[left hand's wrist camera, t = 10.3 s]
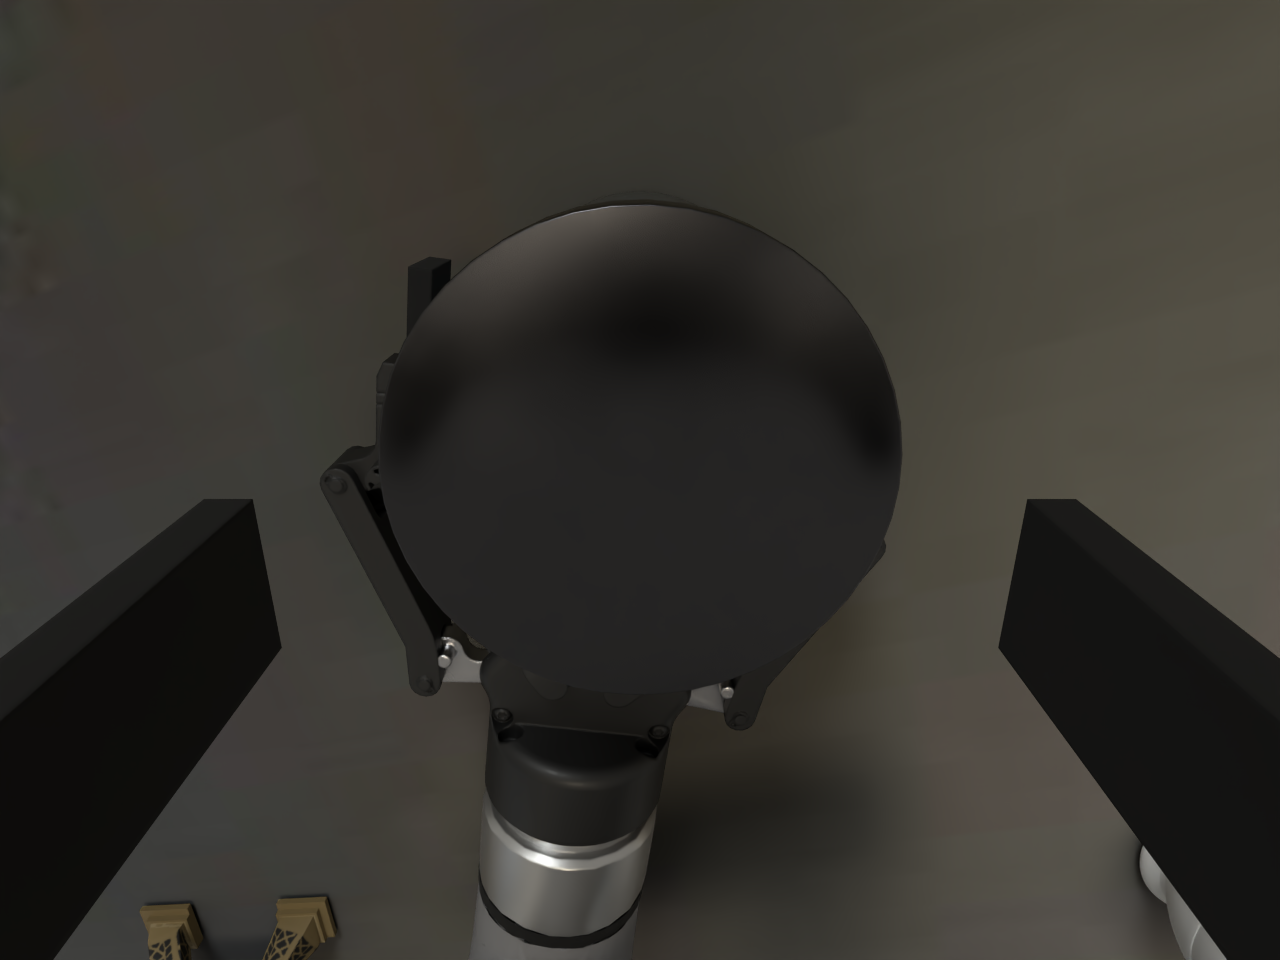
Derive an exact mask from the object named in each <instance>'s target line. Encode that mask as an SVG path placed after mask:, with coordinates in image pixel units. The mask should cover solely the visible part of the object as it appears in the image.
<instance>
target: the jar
mask: <svg viewBox="0 0 1280 960" xmlns="http://www.w3.org/2000/svg"><path fill="white" fill-rule="evenodd" d="M1140 871H1141V875H1142V878H1143V880H1144V882H1145V884H1146V886H1147V887H1148V888H1149V890H1150V891H1151V892H1152V893H1153V894H1154V895H1155V896H1156V897H1157V898H1159V899H1160V900H1161V901H1163V902H1164V903H1166V904H1167V909H1168V914H1169V919H1170V923H1171V926H1172V929H1173V932H1174V935H1175V938H1176V940H1177V943H1178V945H1179V947H1180V950H1181V952H1182V954H1183V956H1184V958H1185V960H1227V959H1226V958H1225V956H1224V955H1223V954H1222V952H1221V951H1220V950H1219V948H1218V947H1217V946H1216V944H1215V943H1214V941H1213V940H1212V939H1211V937H1210V936H1209V935H1208V933H1207V932H1206V931H1205V929H1204V928H1203V926H1202V925H1201V924H1200V922H1199V921H1198V920H1197V918H1196V917H1195V915H1194V914H1193V913H1192V911H1191V910H1190V909H1189V907H1188V906H1187V905H1186V903H1185V902H1184V900H1183V899H1182V898H1181V896H1180V895H1179V894H1178V892H1177V891H1176V890H1175V888H1174V887H1173V885H1172V884H1171V883H1170V881H1169V880H1168V879H1167V877H1166V876H1165V875H1164V873H1163V872H1162V870H1161V869H1160V868H1159V866H1158V865H1157V864H1156V862H1155V861H1154V860H1153V858H1152V857H1151V855H1150V854H1149V853H1148V851H1147V850H1146V849H1145V847H1144V846H1143V847H1142V850H1141V854H1140Z"/></svg>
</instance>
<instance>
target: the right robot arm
mask: <svg viewBox="0 0 1280 960" xmlns="http://www.w3.org/2000/svg"><path fill="white" fill-rule="evenodd" d="M450 275H451V260H449V259H442V258H434V257H428V258H426V259H424V260H421V261H419V262H417V263H415V264H413V265H411V266H409V267H408V304H407V336H408V335H409V333H410V331H411V330H412V328H413V326H414V325H415V323H416V321H417V320H418V318H419V317H420V315H421V313H422V312H423V311H424V309H425V308H426V307H427V306H428V305H429V303H430V302H431V301H432V300H433V299H434V297H435V296H436V295H437V294H438V293H439V291H440V290H441V289H442V288H443V287H444V285H445V284H447V283H448V282H449V281H450ZM398 355H399V354H397V353H394V354H393V355H392V356H390V357H389V358H388V359H387V360H385V361H384V362H383V363H382V365H381V368H380V370H379V372H378V374H377V394H376V403H377V405H376V444H375V445H373V446H369V447H361V446H353V447H351V448H349V449H347V450H346V451H345V452H344V453H343V454H342V455H341V456H340V457H339V458H338V459H337V460H336V461H335V462H334V463H333V464H332V465H331V466H330V467H329V468H328V469H327V470H326V471H325V472H324V473H323V475H322V476H321V478H320V486H321V489H322V491H323V493H324V495H325V497H326V499H327V501H328V503H329V505H330V506H331V508H332V510H333V512H334V514H335V516H336V518H337V520H338V521H339V523H340V525H341V527H342V529H343V531H344V533H345V534H346V536H347V538H348V540H349V542H350V544H351V546H352V548H353V549H354V551H355V553H356V555H357V557H358V559H359V561H360V563H361V564H362V566H363V568H364V570H365V572H366V574H367V576H368V578H369V579H370V581H371V583H372V585H373V587H374V589H375V591H376V593H377V594H378V596H379V598H380V600H381V602H382V604H383V606H384V607H385V609H386V611H387V613H388V615H389V617H390V619H391V621H392V622H393V624H394V626H395V628H396V630H397V632H398V634H399V636H400V637H401V639H402V641H403V643H404V645H405V647H406V656H407V665H408V674H409V683H410V686H411V689H412V690H413V691H414V692H415V693H417V694H419V695H421V696H432V695H434V694H436V693H437V692H438V690H439V689H440V687H441V684H442V682H481V684H482V686H483V687H484V689H485V691H486V693H487V695H488V697H489V701H490V717H489V730H488V744H487V757H486V770H485V783H486V788H485V792H484V796H483V809H482V826H481V842H480V861H479V884H478V893H477V902H476V911H475V920H474V929H473V937H472V944H471V950H470V956H469V960H632V952H633V943H634V936H635V929H636V921H637V914H638V907H639V900H640V896H641V893H642V887H643V882H644V879H645V876H646V871H647V865H648V860H649V854H650V848H651V843H652V837H653V832H654V826H655V820H656V811H657V803H658V800H659V796H660V791H661V786H662V780H663V775H664V769H665V763H666V758H667V752H668V747H669V741H670V736H671V730H672V726H673V723H674V721H675V719H676V717H677V716H678V714H679V713H680V712H681V711H682V710H683V709H684V708H685V707H686V705H689V706H693V707H698V708H703V709H708V710H713V711H718V712H722V713H724V717H725V721H726V724H727V725H728V726H729V727H730V728H732V729H734V730H745V729H748V728H749V727H750V726H752V724H753V723H754V721H755V719H756V716H757V713H758V711H759V708H760V705H761V703H762V700H763V697H764V694H765V692H766V689H767V687H768V686H769V685H770V683H771V682H772V681H773V680H774V679H775V678H776V677H777V675H778V674H779V673H780V672H781V671H782V670H783V669H784V668H785V666H786V665H787V664H788V663H789V662H790V661H791V660H792V658H793V657H794V656H795V655H796V654H797V653H798V652H799V651H800V649H801V648H802V647H803V646H804V645H805V644H806V643H807V641H808V640H809V639H810V638H811V637H812V636H813V635H814V633H815V632H816V631H817V630H816V631H815V632H814V633H813V634H812V635H811V636H809V637H808V638H807V639H806V640H805V641H803V642H802V643H800V644H799V645H797V646H796V647H794V648H793V649H791V650H790V651H788V652H787V653H785V654H784V655H782V656H781V657H779V658H778V659H776V660H774V661H772V662H770V663H768V664H766V665H764V666H762V667H760V668H758V669H756V670H754V671H752V672H749V673H747V674H744V675H741V676H739V677H736V678H733V679H731V680H728V681H725V682H722V683H719V684H715V685H711V686H707V687H703V688H699V689H695V690H689V691H681V692H674V693H667V694H645V695H628V694H616V693H604V692H598V691H592V690H587V689H582V688H577V687H572V686H569V685H565V684H562V683H559V682H556V681H552V680H549V679H546V678H543V677H541V676H538V675H536V674H534V673H531V672H529V671H527V670H525V669H522V668H520V667H518V666H515V665H514V664H512V663H510V662H508V661H507V660H505V659H503V658H502V657H500V656H498V655H496V654H495V653H493V652H491V651H490V650H488V649H487V648H486V649H482V648H478V647H475V646H474V645H472V644H471V642H470V641H469V639H468V637H467V634H466V633H465V632H464V631H463V630H462V629H461V628H460V627H459V626H458V625H457V624H456V623H451V619H450V618H449V617H448V616H447V615H446V614H445V613H444V612H443V611H442V610H441V609H440V607H439V606H438V605H437V604H436V603H435V601H434V600H433V599H432V598H431V596H430V595H429V594H428V593H427V592H426V590H425V589H424V588H423V587H422V585H421V583H420V582H419V580H418V579H417V577H416V576H415V574H414V572H413V571H412V569H411V568H410V566H409V564H408V563H407V561H406V559H405V557H404V555H403V553H402V551H401V548H400V546H399V544H398V542H397V540H396V538H395V535H394V533H393V530H392V527H391V524H390V521H389V517H388V514H387V511H386V508H385V504H384V500H383V494H382V488H381V482H380V476H379V465H378V433H379V425H380V416H381V408H382V403H383V399H384V395H385V392H386V388H387V384H388V380H389V377H390V373H391V371H392V369H393V366H394V364H395V362H396V359H397V357H398ZM885 549H886V544H885V541H884V540H883V542H882V545H881V547H880V549H879V551H878V553H877V555H876V557H875V558H874V560H873V562H872V564H871V566H870V568H869V569H868V571H867V573H868V572H869V571H870V570H871V569H872V568H873V567H874V565H875V564H876V563H877V562H878V561H879V560H880V559H881V557H882V556H883V554H884V553H885ZM867 573H866V574H867ZM865 576H866V575H865ZM865 576H864V577H865Z"/></svg>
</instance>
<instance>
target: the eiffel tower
mask: <svg viewBox="0 0 1280 960" xmlns="http://www.w3.org/2000/svg"><path fill="white" fill-rule="evenodd" d="M276 905H277V908H278V911H277V913H276V918H277V921H278V924H277V926H276V928H275V931H274V933H273V936H272V938H271V940H270V943H269V945H268V948H267V950H266V953H265V955H264V957H263V960H307V959H308V958H309V957H310V955H311V954H312V953H313V952H314V951H315V950H316V949H317V948H318V946H319V943H322V942H326V939H327V937H335V935H336V933H337V930H336V927H335V923H334V920H333V916H332V913H331V910H330V906H329V903H328V899H327V897H311V898H292V899H279V900H278V902H277V904H276ZM140 914H141V916H142V919H143V921H144V923H145V926H146V928H147V931H148V933H149V938H148V947H149V956H150V960H191V949H198V947H199V945H200V944H201V942H202V940H203V936H202V933H201V930H200V928H199V925H198V923H197V920H196V917H195V915H194V912H193V909H192V907H191V904H174V905H155V906H142V908H141V909H140Z"/></svg>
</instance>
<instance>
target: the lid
mask: <svg viewBox="0 0 1280 960" xmlns="http://www.w3.org/2000/svg"><path fill="white" fill-rule="evenodd" d="M901 464H902V437H901V421H900V415H899V410H898V405H897V400H896V394H895V389H894V387H893V384H892V381H891V378H890V375H889V372H888V369H887V366H886V363H885V360H884V358H883V356H882V354H881V352H880V350H879V348H878V346H877V344H876V342H875V340H874V338H873V336H872V334H871V333H870V331H869V329H868V327H867V325H866V324H865V323H864V321H863V320H862V318H861V317H860V316H859V314H858V313H857V311H856V310H855V309H854V307H853V306H852V304H851V303H850V302H849V300H848V299H847V298H846V297H845V296H844V295H843V294H842V293H841V292H840V290H839V289H838V288H837V287H836V286H835V285H834V284H833V283H832V282H831V281H830V280H829V279H828V278H827V277H826V276H825V275H824V274H823V273H822V272H821V271H820V270H818V269H817V268H816V267H815V266H813V265H812V264H811V263H809V262H808V261H807V260H806V259H804V258H803V257H802V256H801V255H799V254H798V253H797V252H795V251H794V250H793V249H791V248H789V247H788V246H786V245H784V244H783V243H781V242H779V241H778V240H776V239H774V238H772V237H771V236H769V235H767V234H765V233H764V232H762V231H760V230H758V229H757V228H755V227H753V226H751V225H750V224H748V223H745V222H743V221H740V220H738V219H735V218H733V217H730V216H728V215H725V214H723V213H720V212H718V211H714V210H710V209H706V208H702V207H698V206H694V205H690V204H686V203H680V202H671V201H661V200H652V199H641V200H614V201H608V202H602V203H596V204H591V205H585V206H579V207H576V208H573V209H570V210H567V211H564V212H561V213H558V214H555V215H552V216H548V217H546V218H544V219H542V220H540V221H538V222H536V223H534V224H531V225H529V226H527V227H525V228H523V229H521V230H519V231H517V232H515V233H514V234H512V235H510V236H508V237H507V238H505V239H503V240H502V241H500V242H499V243H497V244H496V245H494V246H493V247H491V248H490V249H488V250H487V251H485V252H484V253H482V254H481V255H480V256H478V257H477V258H475V259H474V260H472V261H471V262H470V263H469V264H468V265H466V266H465V267H464V268H463V269H462V270H461V271H460V272H459V273H458V274H457V275H455V276H454V277H453V278H452V279H451V280H450V281H449V282H448V283H447V284H445V285H444V287H443V288H442V289H441V290H440V291H439V293H438V294H437V295H436V296H435V297H434V299H433V300H432V301H431V302H430V303H429V305H428V306H427V307H426V308H425V309H424V311H423V312H422V313H421V315H420V317H419V318H418V320H417V321H416V323H415V325H414V326H413V328H412V330H411V331H410V333H409V335H408V336H407V338H406V339H405V341H404V343H403V345H402V348H401V350H400V352H399V355H398V357H397V359H396V362H395V364H394V366H393V369H392V371H391V373H390V377H389V380H388V384H387V388H386V392H385V395H384V399H383V403H382V408H381V416H380V425H379V433H378V465H379V476H380V482H381V488H382V494H383V500H384V504H385V508H386V511H387V514H388V517H389V521H390V524H391V527H392V530H393V533H394V535H395V538H396V540H397V542H398V544H399V546H400V548H401V551H402V553H403V555H404V557H405V559H406V561H407V563H408V564H409V566H410V568H411V569H412V571H413V572H414V574H415V576H416V577H417V579H418V580H419V582H420V583H421V585H422V587H423V588H424V589H425V590H426V592H427V593H428V594H429V595H430V596H431V598H432V599H433V600H434V601H435V603H436V604H437V605H438V606H439V607H440V609H441V610H442V611H443V612H444V613H445V614H446V615H447V616H448V617H449V618H450V619H451V620H452V621H454V622H455V623H456V624H457V625H458V626H459V627H460V628H461V629H462V630H463V631H464V632H465V633H467V634H468V635H469V636H471V637H472V638H473V639H475V640H476V641H477V642H479V643H480V644H481V645H483V646H484V647H485V648H487V649H488V650H490V651H491V652H493V653H495V654H496V655H498V656H500V657H502V658H503V659H505V660H507V661H508V662H510V663H512V664H514V665H515V666H518V667H520V668H522V669H525V670H527V671H529V672H531V673H534V674H536V675H538V676H541V677H543V678H546V679H549V680H552V681H556V682H559V683H562V684H565V685H569V686H572V687H577V688H582V689H587V690H592V691H598V692H604V693H616V694H628V695H645V694H667V693H674V692H681V691H689V690H695V689H699V688H703V687H707V686H711V685H715V684H719V683H722V682H725V681H728V680H731V679H733V678H736V677H739V676H741V675H744V674H747V673H749V672H752V671H754V670H756V669H758V668H760V667H762V666H764V665H766V664H768V663H770V662H772V661H774V660H776V659H778V658H779V657H781V656H782V655H784V654H785V653H787V652H788V651H790V650H791V649H793V648H794V647H796V646H797V645H799V644H800V643H802V642H803V641H805V640H806V639H807V638H808V637H809V636H811V635H812V634H813V633H814V632H815V631H816V630H818V629H819V628H820V627H821V626H822V625H824V624H825V623H826V622H827V621H828V620H829V619H830V618H831V617H832V616H833V615H834V614H835V612H836V611H837V610H838V609H839V608H840V607H841V606H842V605H843V604H844V603H845V602H846V601H847V600H848V598H849V597H850V596H851V594H852V593H853V591H854V590H855V589H856V587H857V586H858V584H859V583H860V582H861V580H862V579H863V578H864V576H865V575H866V573H867V571H868V569H869V568H870V566H871V564H872V562H873V560H874V558H875V557H876V555H877V553H878V551H879V549H880V547H881V545H882V542H883V540H884V537H885V535H886V532H887V529H888V527H889V524H890V522H891V519H892V515H893V511H894V507H895V503H896V499H897V494H898V490H899V485H900V474H901Z"/></svg>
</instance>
